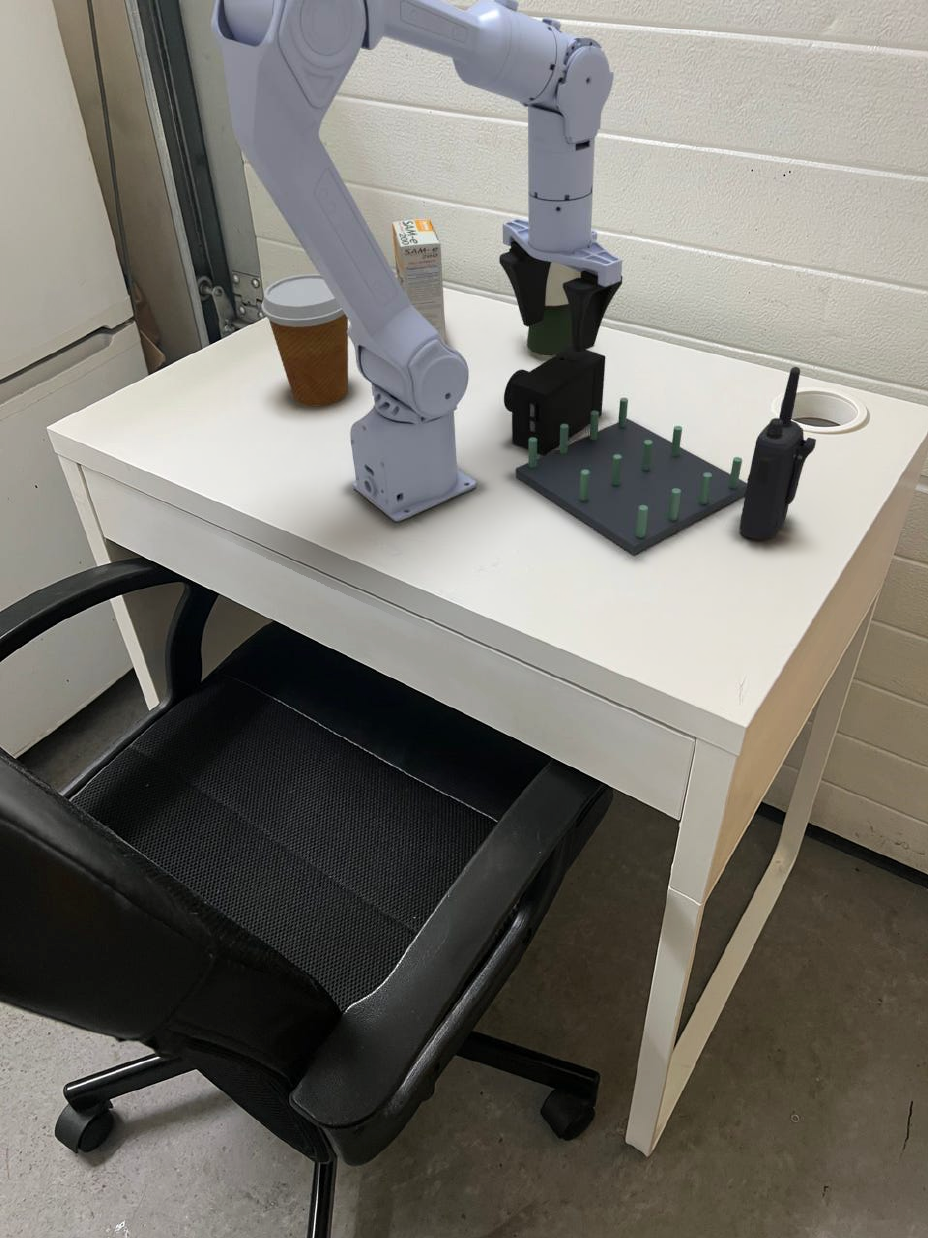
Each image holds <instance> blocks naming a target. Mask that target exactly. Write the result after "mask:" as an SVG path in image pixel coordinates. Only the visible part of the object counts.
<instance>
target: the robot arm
mask: <svg viewBox="0 0 928 1238" xmlns="http://www.w3.org/2000/svg"><path fill="white" fill-rule="evenodd" d="M518 8H519V1H518V0H478V1H477V2H475V3H473V4H472V5H471V6H469V7H468V8H467V9H466V10H463V9H461V8H459V7H457V6H455V5H453V4H450V3H448V2H446V1H444V0H215V2H214V7H213V12H212V16H211V21H210V29H211V31H212V33H213V35H214V38H215V40H216V43H217V45H218V48H219V50H220V52H221V56H222V59H223V60H222V62H223V67H224V76H225V83H226V91H227V98H228V105H229V111H230V119H231V127H232V132H233V137H234V138H235V142H236V143H237V146H238V148H239V149H240V151H241V152H242V154H243V155H244V157H245V159H246V160H247V162H248V164H249V165H250V167H251V168H252V169H253V171H254V173H255V174H256V176H257V178H258V179H259V180H260V182H261V184H262V186H263V187H264V189H265V190H266V192H267V193H268V195H269V197H270V199H272V201H273V203H274V204H275V206H276V208H277V209H278V211H279V212H280V214H281V216H282V217H283V219H284V220H285V222H286V224H287V225H288V226H289V228H290V229H291V231H292V233H293V234H294V236H295V238H296V239H297V241H298V242H299V244H300V245H301V247H302V248H303V250H304V252H305V254H306V255H307V256H308V258H309V259H310V261H311V263H312V264H313V266H314V267H315V269H316V271H317V273H318V274H320V275H321V277H322V278H323V280H324V282H325V283H326V285H327V286H328V288H329V289H330V291H331V293H332V294H333V296H334V297H335V299H336V300H337V302H338V304H339V305H340V307H341V308H342V310H343V312H344V313H345V315H346V316H347V318H348V322H349V323H350V324H349V325H348V330H347V334H348V338H349V339H350V341H351V343H352V345H353V348H354V355H355V363H356V367H357V369H358V372H359V373H360V375H361V376H362V378H364V379H365V380H366V381H367V382H369V383H370V384H371V393H372V396H373V402H374V405H373V407H372V408H371V409H370V410H369V412H368V413H366V414H365V415H364V416H363V417H361V418H360V419H358V420H356V421H355V422H354V423H352V425H351V427H350V433H349V434H350V435H349V438H350V446H351V454H352V461H353V468H354V475H355V481H354V482H353V483H352V486H353V488H354V489H355V490H356V491H357V492H359V494H361V495H362V496H363V497H365V498H366V499H367V500H368V501H370V503H372V504H373V505H374V506H376V507H377V508H378V509H379V510H380V511H382V512H383V513H384V514H385V515H386V516H388V517H389V518H390V519H391V520H392V521H394V522H401V521H403V520H406V519H408V518H410V517H413V516H414V515H417V514H419V513H421V512H424V511H425V510H428V509H430V508H433V507H435V506H437V505H439V504H441V503H444V502H446V501H448V500H450V499H453V498H454V497H458V496H460V495H461V494H463V493H466V492H468V491H470V490H473V489H474V488H476V486H477V482H476V480H474V479H473V478H472V477H470V476H469V475H467V474H466V473H465V472H463V471H462V470H461V469H459V468H458V462H457V445H456V444H457V443H456V423H455V411H456V410H458V408H457V407H458V405H459V403H460V402H461V400H462V399H463V397H464V396H465V393H466V391H467V388H468V384H469V379H470V378H469V377H470V376H469V375H470V373H469V366H468V362H467V360H466V359H465V357H464V356H463V355H462V353H461V352H460V351H458V350H457V349H455V348H452V347H451V346H449V345H447V343H446V344H445V343H444V341H443V340H442V338H441V336H440V334H439V333H438V331H437V330H436V329H435V328H434V327H433V326H432V325H431V324H430V323H429V322H428V321H427V320H426V319H425V318H424V317H423V316H422V315H421V314H420V313H419V312H418V311H417V310H416V309H415V308H414V307H413V305H412V304H411V302H410V301H409V299H408V297H407V295H406V293H405V292H404V290H403V288H402V286H401V284H400V283H399V281H398V279H397V274H395V272H394V269H393V268H392V267H391V264H390V263H389V261H388V259H387V258H386V256H385V254H384V252H383V250H382V248H381V246H380V245H379V242H378V241H377V240H376V237H375V236H374V234H373V232H372V230H371V228H370V226H369V224H368V223H367V221H366V219H365V218H364V216H363V214H362V212H361V210H360V209H359V206H358V205H357V203H356V201H355V200H354V197H353V195H352V194H351V192H350V190H349V189H348V187H347V185H346V183H345V182H344V179H343V178H342V175H340V172H339V170H338V169H337V167H336V165H335V163H334V162H333V159H332V158H331V156H330V153H328V151H327V148H326V147H325V145H324V144H323V142H322V140H321V138H320V135H319V134H320V128H321V124H322V121H323V120H324V118H325V116H326V115H327V112H328V111H329V109H330V107H331V105H332V103H333V102H334V99H335V98H336V96H337V94H338V92H339V90H340V88H341V87H342V85H343V83H344V81H345V79H346V77H347V76H348V74H349V72H350V71H351V68H352V66H353V65H354V63H355V61H356V59H357V57H358V55H359V52H360V50H361V49H362V50H365V51H373V50H374V49H376V47H377V46H378V44H379V43H380V42H381V40H382V39H383V38H387V39H390V40H392V41H396V42H400V43H403V44H407V45H408V46H409V45H410V46H413V47H415V48H419V49H422V50H425V51H429V52H431V53H435V54H438V55H441V56H445V57H447V58H451V60H452V63H453V65H454V69H455V72H456V74H457V75H458V77H459V78H460V81H462V82H463V83H464V84H466V85H468V86H471V87H475V88H478V89H480V90H483V91H486V92H489V93H491V94H495V95H498V96H501V97H504V98H507V99H510V100H512V101H516V102H519V103H520V105H522V107H525V108H527V156H528V157H527V163H528V164H527V167H528V168H527V171H528V172H527V174H528V177H527V178H528V179H527V180H528V181H527V184H528V185H527V186H528V187H527V189H528V193H527V194H528V195H527V196H528V197H527V198H528V199H527V200H528V201H527V202H528V203H527V204H528V205H527V206H528V213H527V215H528V220H523V219H521V218H516V219H513V220H509V221H506V222H503V223H502V244H503V245H505V246H507V247H510V248H508V251H506V252H504V253H501V254H500V255H499V257H498V258H499V264H500V266H501V267H502V269H503V271H504V273H505V274H506V276H507V278H508V280H509V283H510V284H511V287H512V290H513V292H514V296H515V299H516V302H517V306H518V309H519V313H520V317H521V321H522V324H523V326H525V327H528V328H529V326H531V325H533V324H536V323H538V322H541V321H543V318H544V313H545V302H546V287H547V280H548V274H549V270H550V266H551V262H554V263H559V264H562V265H565V266H567V267H569V268H572V269H574V270H576V271H579V272H581V278H579V277H578V278H576V279H573V280H570V281H568V282H565V283H563V289H564V292H565V294H566V297H567V300H568V303H569V307H570V312H571V320H572V342H573V347H574V350H575V351H577V352H582V351H584V350H589V349H592V348H594V347H595V343H596V340H597V337H598V334H599V331H600V327H601V324H602V322H603V319H604V316H605V314H606V312H607V310H608V307H609V305H610V304H611V301H612V300H613V298H614V297H615V295H616V293H617V292H618V291H619V289H620V288H621V287H622V284H623V278H624V277H623V275H622V274H623V273H622V269H623V259H622V258H620V257H617V256H615V255H614V254H612V253H611V252H609V250H607V249H606V248H605V247H603V246H602V244H600V243H599V242H598V241H597V240H598V232H597V231H596V230H593V229H592V218H593V193H594V171H595V145H596V144H595V143H596V137H597V136H598V134H599V130H600V129H601V122H602V121H601V120H602V113H603V108H604V106H605V105H606V103H607V100H608V99H609V96H610V93H611V91H612V87H613V83H614V75H615V73H614V71H611V70H610V63H609V60H608V57H607V55H606V53H605V51H603V50H602V45H601V44H600V43H599V42H598V40H595V39H594V38H591V37H586V36H581V35H575V34H570V33H564V32H563V31H562V30H561V28H562V27H561V26H562V24H561V22H560V21H559V20H557V19H555V18H552V17H545V16H544V17H543V18H542V19H541V20H539V19H537V18H534V17H532V16H529V15H527V14H525V13H523V12H520V11H518Z"/></svg>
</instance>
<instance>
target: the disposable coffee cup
mask: <svg viewBox="0 0 928 1238" xmlns="http://www.w3.org/2000/svg"><path fill="white" fill-rule="evenodd" d="M260 306H261V307H260V308H261V310H262V312H263V314H264V315H265V317H266V318H267V319H268V322H269V325H270V327H271V331H272V334H273V337H274V341H275V344H276V347H277V351H278V353H279V356H280V359H281V362H282V366H283V369H284V372H285V376H286V379H287V381H288V384H289V387H290V388H289V389H290V391H291V393H292V397H293V399H294V401H295V402H296V403H299V404H301V405H304V406H309V407H320V406H321V407H322V406H328V405H331V404H335V403H337V402H339V401H341V400H343V399H344V398H345V397H346V396H347V395H348V393H349V336H348V334H347V330H348V328H349V319H348V318H347V316H346V315H345V313H344V312H343V310H342V308H341V307H340V305H339V304H338V302H337V300H336V299H335V297H334V296H333V294H332V293H331V291H330V289H329V288H328V286H327V285H326V283H325V282H324V280H323V278H322V277H321V275H320V274H319V273H309V274H297V275H293V276H287V277H284V278H282V279H279V280H276V281H274V282H273V283H271V284H269V285H268V286H267V287H266V288H265V290H264V291H263V300H262V302H261V305H260Z"/></svg>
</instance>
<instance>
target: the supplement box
mask: <svg viewBox="0 0 928 1238" xmlns="http://www.w3.org/2000/svg"><path fill="white" fill-rule="evenodd" d="M391 226H392V227H391V229H392V238H393V247H394V259H395V260H394V261H395V272H396V277H397V279H398V281H399V283H400V284H401V286H402V288H403V290H404V292H405V293H406V295H407V297H408V299H409V301H410V302H411V304H412V305H413V307H414V308H415V309H416V310H417V311H418V312H419V313H420V314H421V315H422V316H423V317H424V318H425V319H426V320H427V321H428V322H429V323H430V324H431V325H432V326H433V327H434V328H435V329H436V330H437V331H438V333H439V334H440V336H441V338H442V340H443V341H444V343H445V344H446V345H447V335H446V321H445V319H446V318H445V317H446V316H445V300H444V299H445V298H444V282H443V280H444V279H443V265H442V264H443V263H442V249H441V248H442V247H441V240H440V239H439V237H438V234H437V231H436V230H435V228H434V225H433V223H432V221H431V219H430V217H429V218H417V219H406V220H398V221H392V222H391Z"/></svg>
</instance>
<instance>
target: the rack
mask: <svg viewBox="0 0 928 1238" xmlns="http://www.w3.org/2000/svg"><path fill="white" fill-rule="evenodd" d="M628 405H629V398H627V397H621V398H619V407H618V409H619V410H618V420H617V422H616V423H613V424H611V425H609V426H606V427H605V428H604V427H603V428H602V429H600V430H599V419H600V417H599V412H598V411H592V412H591V417H590V424H589V435H586V436H585V437H583V438H579V439H578V440H575V441H574V442H571V443H569V439H568V427H569V426H568V425H567V424H561V426H560V445H559V448H558V449H554V450H552V451H551V452H550V453H548V454H547V455H544V456H543V455H541V456H540V457H538V453H537V439H536V438H530V439H529V450H528V462H527V463H525V464H522V465H520V466H518V467H516V468H515V477H516V478H517V479H518V480H520V481H522V482H523V483H524V484H525V485H528V486H529V487H531V488H532V489H534V490H535V491H536V492H538V493H540V494H541V495H542V496H544V497H546V498H547V499H549V500H550V501H552V502H553V503H555V504H556V505H557V506H559V507H561V508H562V509H564V510H565V511H566V512H568V513H569V514H571V515H573V516H574V517H576V518H577V519H579V520H580V521H582V522H583V523H585V524H586V525H588V526H589V527H591V528H592V529H594V530H595V531H597V532H598V533H600V534H601V535H603V536H604V537H605V538H607V539H609V540H610V541H611V542H613V543H615V544H616V545H618V546H619V547H621V548H622V549H623V550H624V551H626V552H629V553H630V554H631V555H632V556H634V555H637V554H639V553H640V552H642V551H644V550H646V549H648V548H650V547H652V546H654V545H655V544H657V543H659V542H661V541H663V540H665V539H666V538H668V537H670V536H671V535H673V534H675V533H676V534H677V532H679V531H682V530H683V529H685V528H688V526H690V525H692V524H694V523H696V522H698V521H700V520H701V519H704V518H705V517H707V516H709V515H711V514H712V513H715V512H716V511H718V510H720V509H722V508H724V507H725V506H727V505H730V504H731V503H733V502H735V501H737V500H739V499H740V498H743V497H744V494H745V491H746V490H747V486H748V485H747V481H744V480H742V479H740V476H741V475H740V474H741V469H742V463H743V458H742V457H740V456H735V457H734V458H733V459H732V463H731V464H732V465H731V470H730V473H729V472H727V471H725V470H723V469H722V468H720V467H718V466H716V465H714V464H712V463H711V462H709V461H707V460H705V459H703V458H702V457H699V456H698V455H696V454H694V453H692V452H691V451H688V450H686V448H683V447H682V446H681V443H682V442H681V441H682V434H683V427H682V426H681V425H674V427H673V430H672V439H671V441H670V440H668V439H667V438H664V437H662V436H661V435H659V434H657V433H655V432H653V431H652V430H650V429H648V428H645V427H644V426H642V425H641V424H638V422H635V421H633V420H631V419H630V418H627V417H628V407H629V406H628Z"/></svg>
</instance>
